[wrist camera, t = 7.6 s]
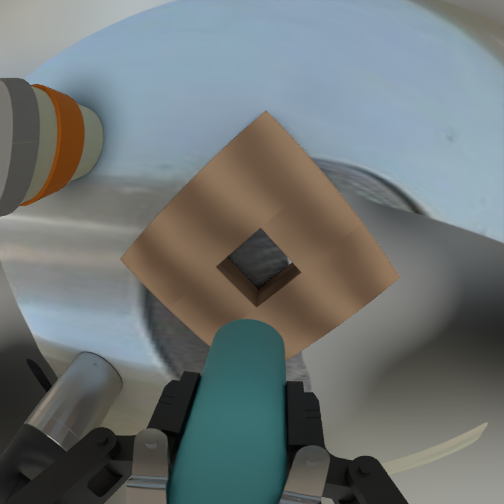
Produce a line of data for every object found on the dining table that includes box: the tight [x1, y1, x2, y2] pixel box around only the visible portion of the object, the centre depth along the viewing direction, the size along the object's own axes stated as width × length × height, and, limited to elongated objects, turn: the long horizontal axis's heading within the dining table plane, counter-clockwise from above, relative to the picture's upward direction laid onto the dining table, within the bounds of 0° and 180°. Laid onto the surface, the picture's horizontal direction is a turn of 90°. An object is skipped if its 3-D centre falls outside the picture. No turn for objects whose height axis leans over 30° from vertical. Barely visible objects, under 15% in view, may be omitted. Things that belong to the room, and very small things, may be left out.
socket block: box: [120, 111, 400, 361], centre depth 28 cm, size 20×20×4 cm
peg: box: [169, 319, 287, 504], centre depth 10 cm, size 4×4×10 cm
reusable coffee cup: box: [0, 78, 104, 216], centre depth 20 cm, size 13×13×15 cm
